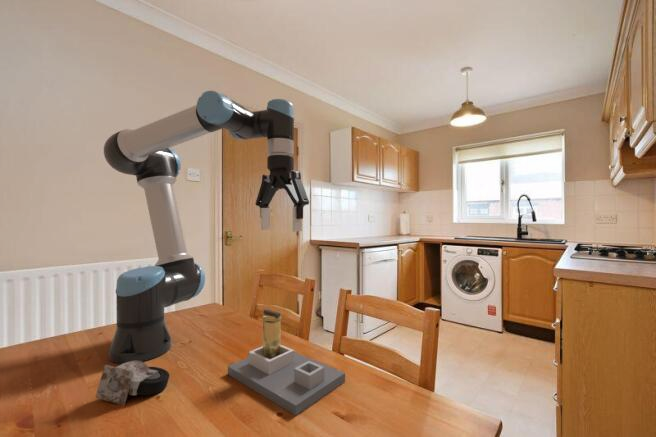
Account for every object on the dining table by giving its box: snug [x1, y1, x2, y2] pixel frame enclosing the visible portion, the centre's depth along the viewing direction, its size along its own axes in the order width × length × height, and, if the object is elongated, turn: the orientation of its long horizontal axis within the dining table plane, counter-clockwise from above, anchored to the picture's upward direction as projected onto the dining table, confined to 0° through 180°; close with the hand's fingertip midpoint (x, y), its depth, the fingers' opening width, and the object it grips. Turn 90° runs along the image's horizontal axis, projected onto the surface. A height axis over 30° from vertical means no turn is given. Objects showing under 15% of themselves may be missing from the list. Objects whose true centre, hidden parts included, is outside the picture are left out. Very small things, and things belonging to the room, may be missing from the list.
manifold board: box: [227, 344, 346, 416], centre depth 73 cm, size 24×16×5 cm, turn 50°
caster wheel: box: [95, 361, 170, 406], centre depth 68 cm, size 7×11×10 cm
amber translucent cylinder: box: [261, 309, 283, 359], centre depth 76 cm, size 5×5×13 cm
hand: (280, 230), depth 87 cm, fingers open, 13 cm apart
